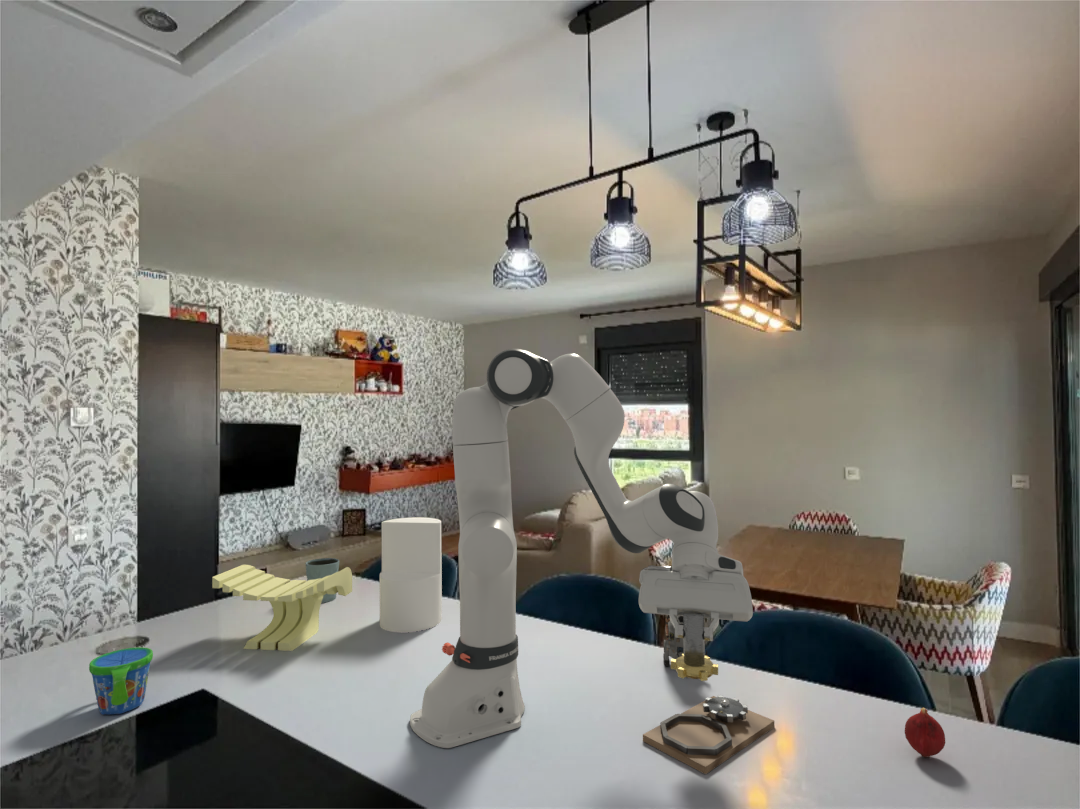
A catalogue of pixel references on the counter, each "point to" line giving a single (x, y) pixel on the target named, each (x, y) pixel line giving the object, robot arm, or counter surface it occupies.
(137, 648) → the snack cup
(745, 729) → the gear board
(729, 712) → the gear
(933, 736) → the onion
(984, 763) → the counter surface
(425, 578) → the cylinder
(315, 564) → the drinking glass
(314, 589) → the slatted curved stool
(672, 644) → the figurine
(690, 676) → the gear
